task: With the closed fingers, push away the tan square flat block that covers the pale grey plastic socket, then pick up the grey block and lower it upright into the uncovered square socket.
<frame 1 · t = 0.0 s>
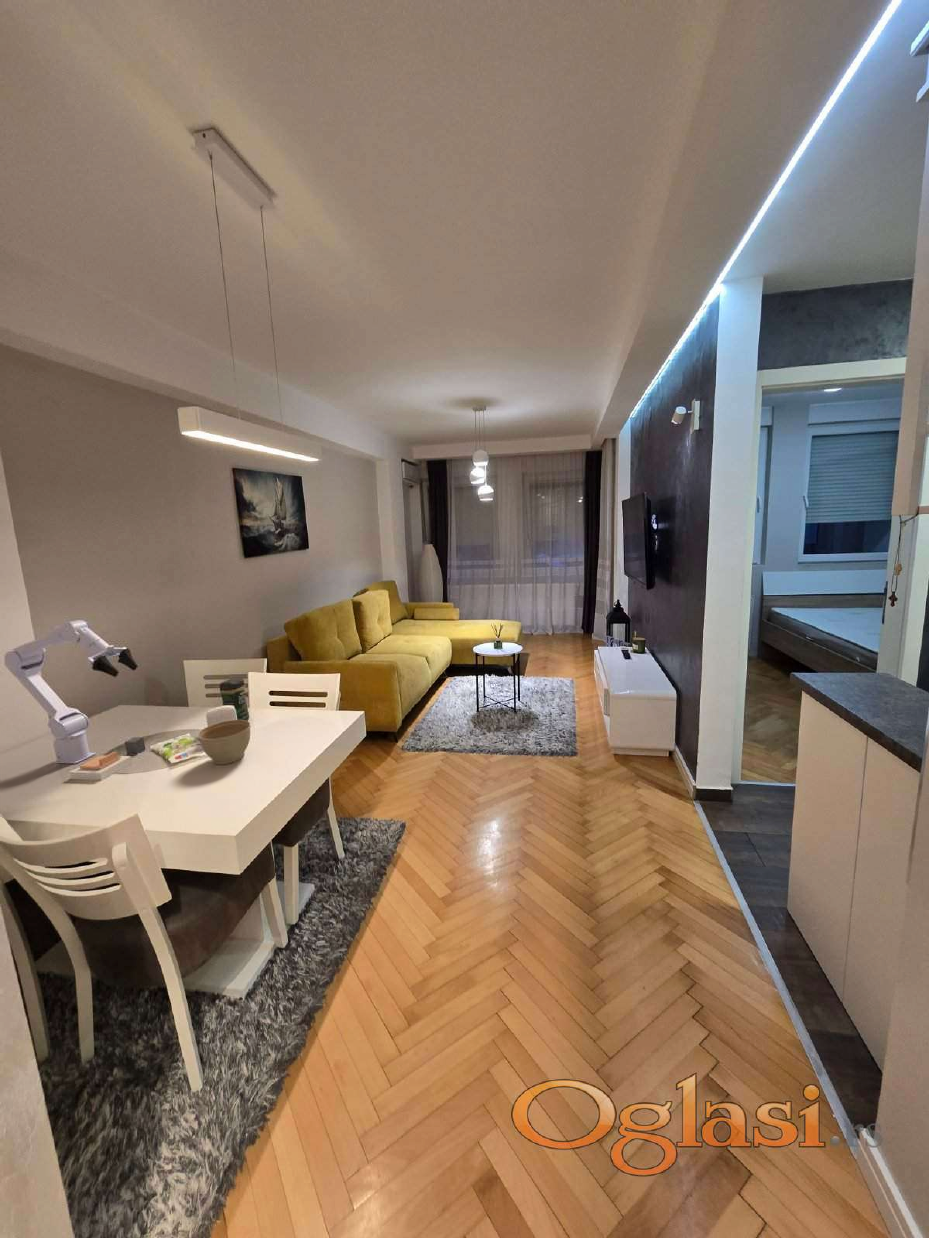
hand: (126, 671, 168), 32 cm above the table, tool tilted 50°, fingers open, 7 cm apart
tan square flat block: (100, 759, 167), point 4 cm above the table, slide at 0.0 cm
planter bowl: (229, 759, 171), on the table
coffee jar: (237, 722, 206), on the table
socket: (102, 770, 168), on the table
grey block: (136, 752, 182), on the table
photo printer: (225, 738, 190), on the table
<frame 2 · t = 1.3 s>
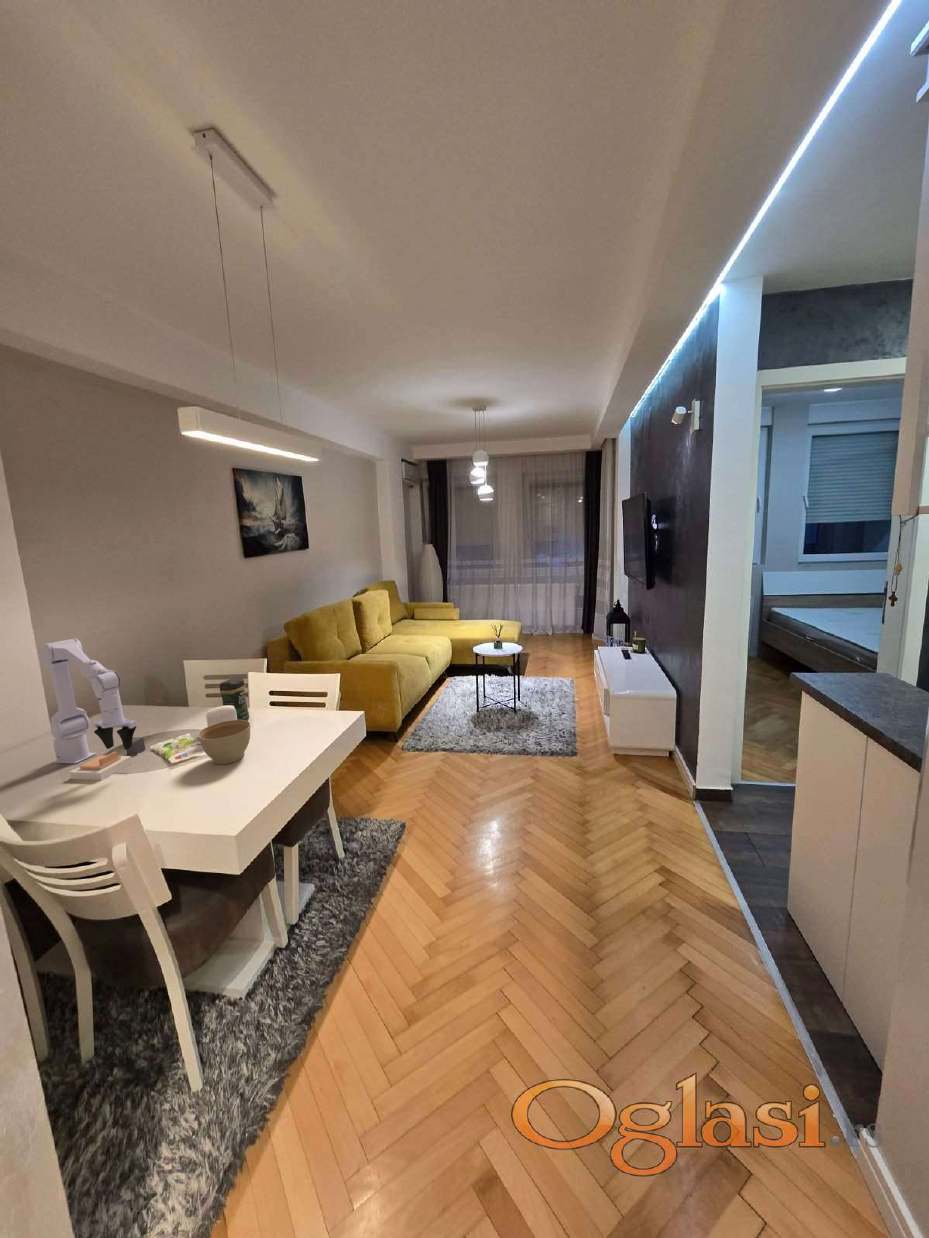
hand: (119, 747, 165), 8 cm above the table, tool pointing down, fingers open, 6 cm apart
nothing on the table moved.
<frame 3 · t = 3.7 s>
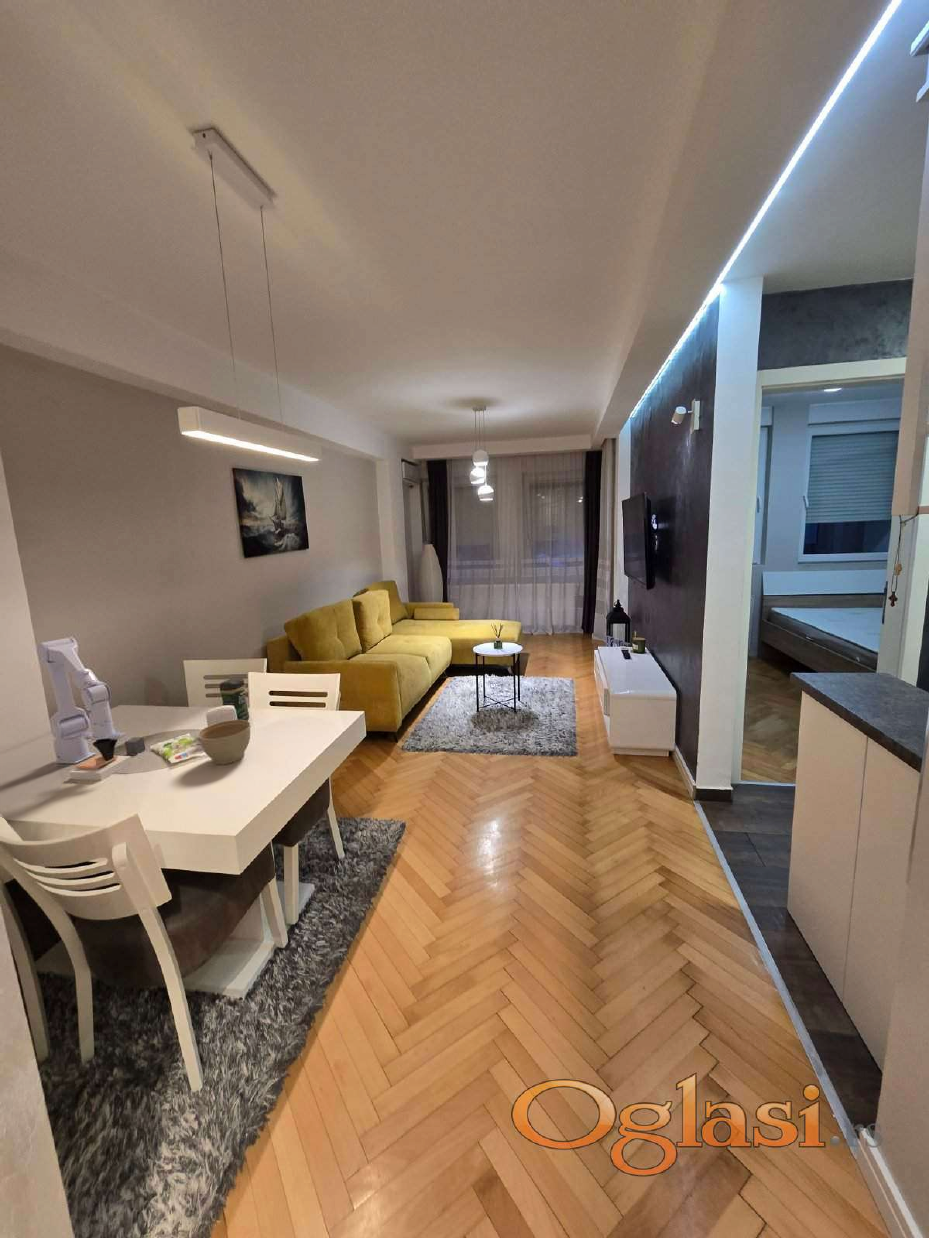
hand: (109, 759, 167), 4 cm above the table, tool pointing down, fingers closed
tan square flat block: (96, 759, 168), point 4 cm above the table, slide at 1.4 cm, touching gripper
everything else where it was.
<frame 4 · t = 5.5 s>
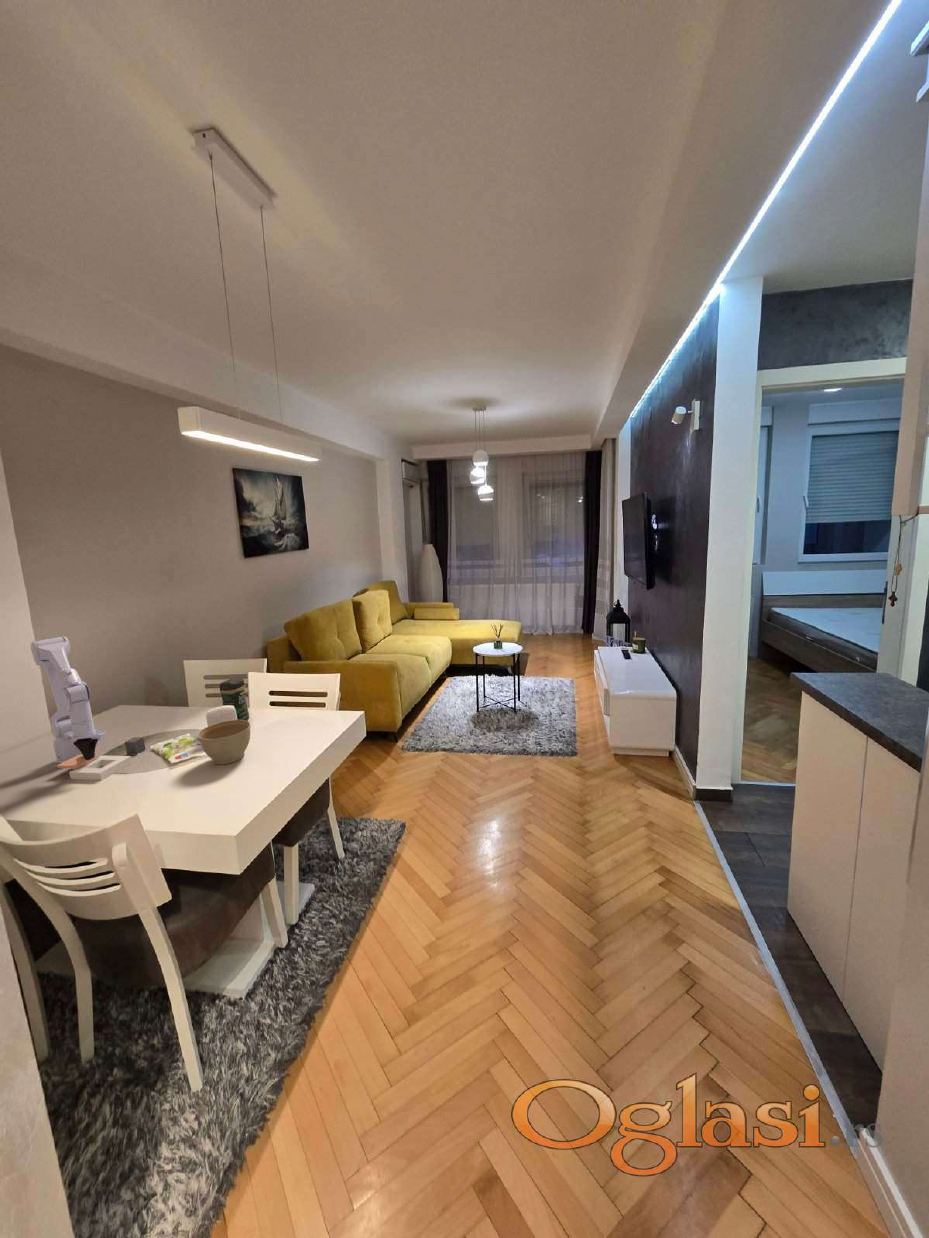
hand: (90, 758, 168), 4 cm above the table, tool pointing down, fingers closed
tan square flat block: (77, 758, 169), point 4 cm above the table, slide at 9.0 cm, touching gripper
everything else where it was.
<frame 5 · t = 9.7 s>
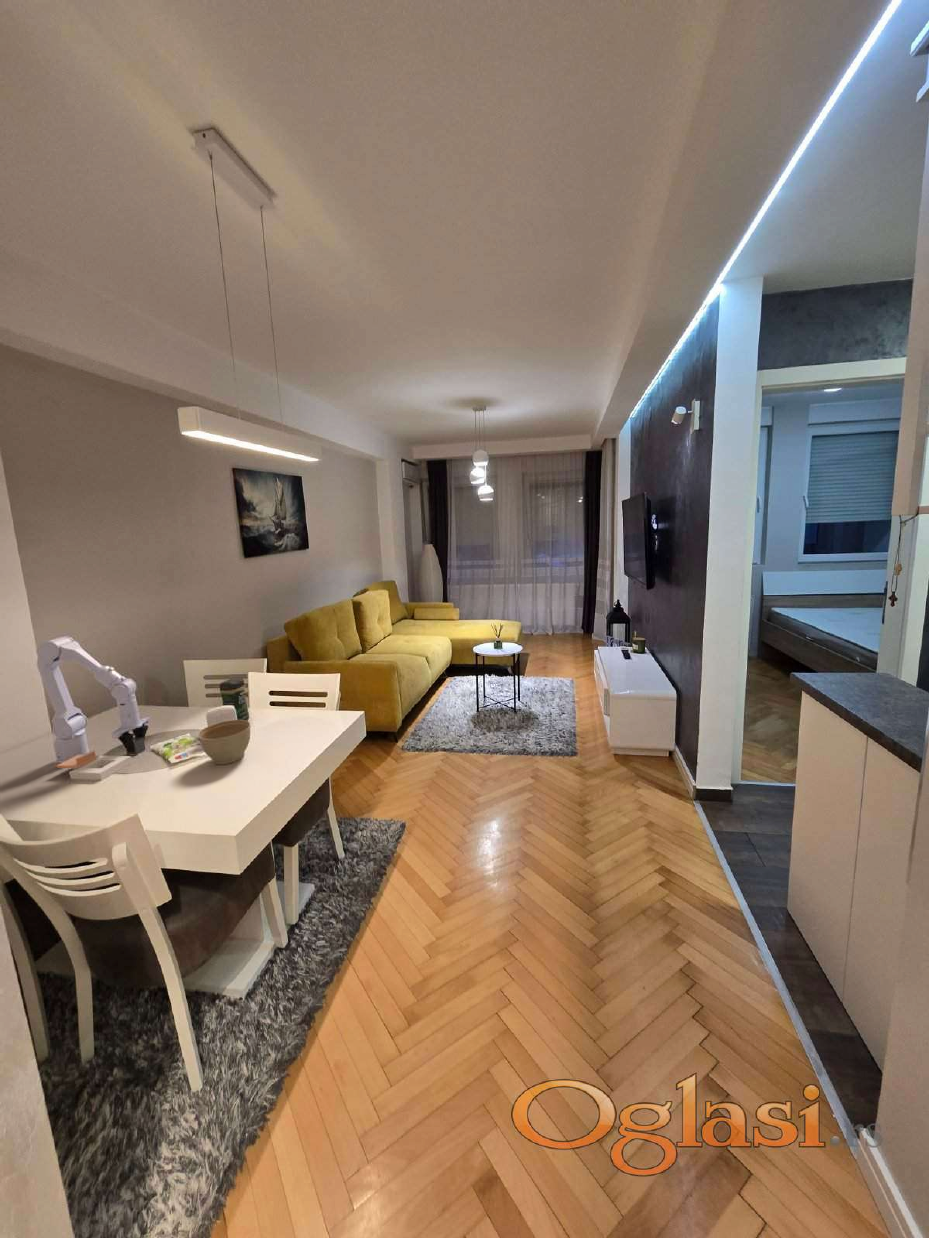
hand: (135, 748, 181), 1 cm above the table, tool pointing down, fingers closed on grey block, 4 cm apart
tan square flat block: (77, 758, 169), point 4 cm above the table, slide at 9.1 cm
grey block: (136, 752, 182), on the table, touching gripper
everything else where it was.
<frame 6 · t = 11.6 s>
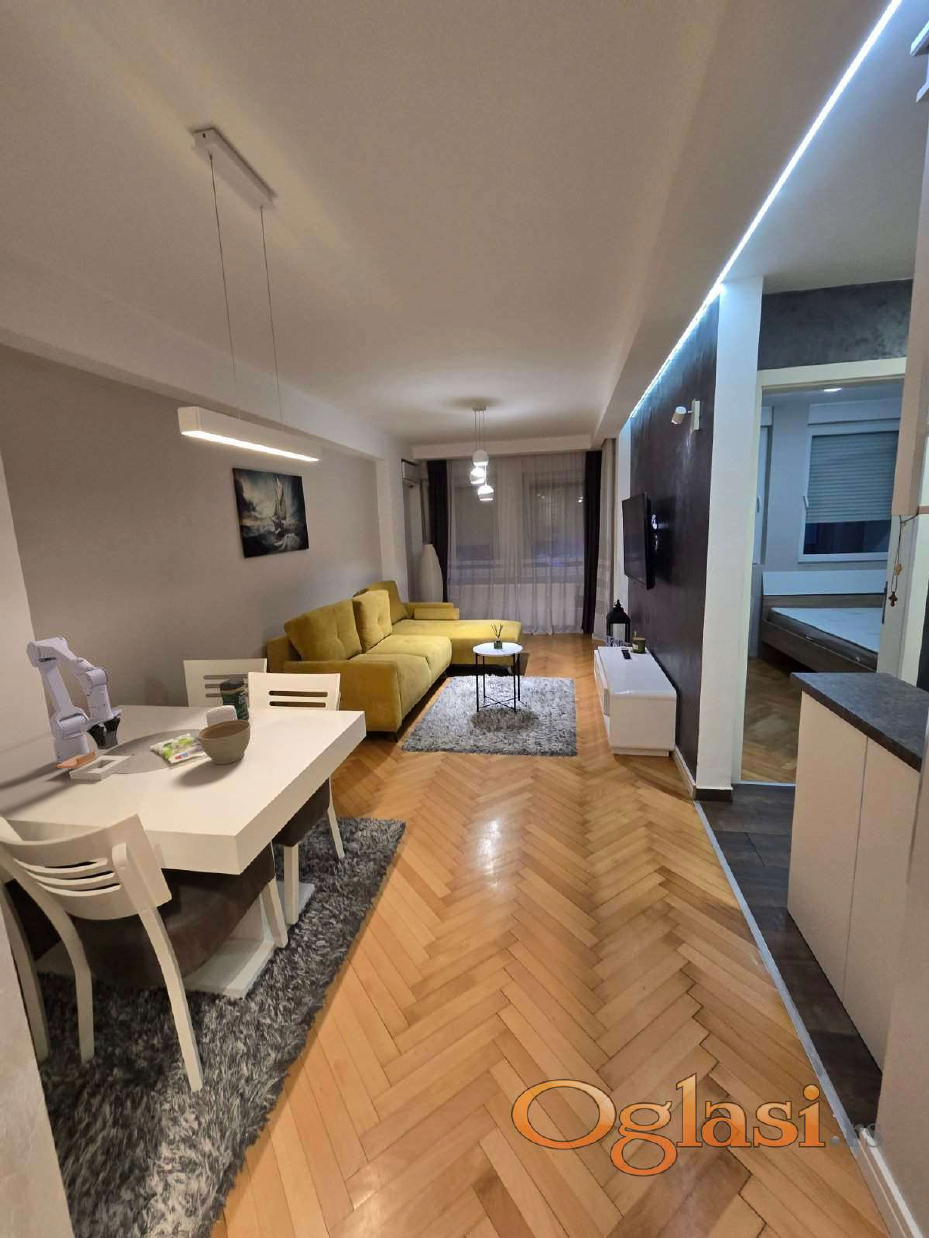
hand: (106, 742, 170), 8 cm above the table, tool pointing down, fingers closed on grey block, 4 cm apart
grey block: (108, 746, 170), point 7 cm above the table, touching gripper
everything else where it was.
when the fingers open (3 cm above the table, at t = 13.6 s): grey block drops 2 cm, resting in socket.
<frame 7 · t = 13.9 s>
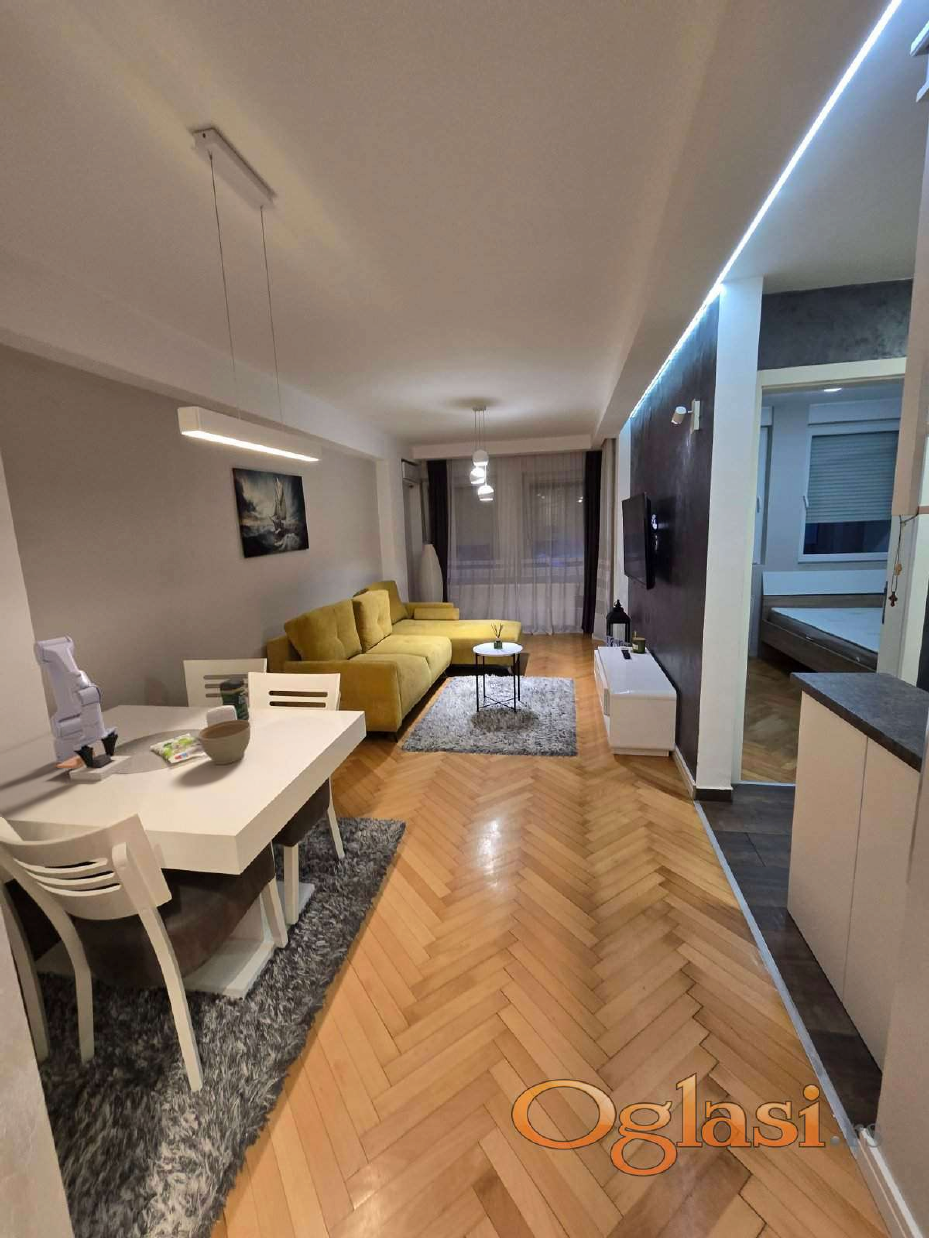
hand: (100, 761, 167), 3 cm above the table, tool pointing down, fingers open, 7 cm apart
grey block: (102, 771, 168), resting in socket
everything else where it was.
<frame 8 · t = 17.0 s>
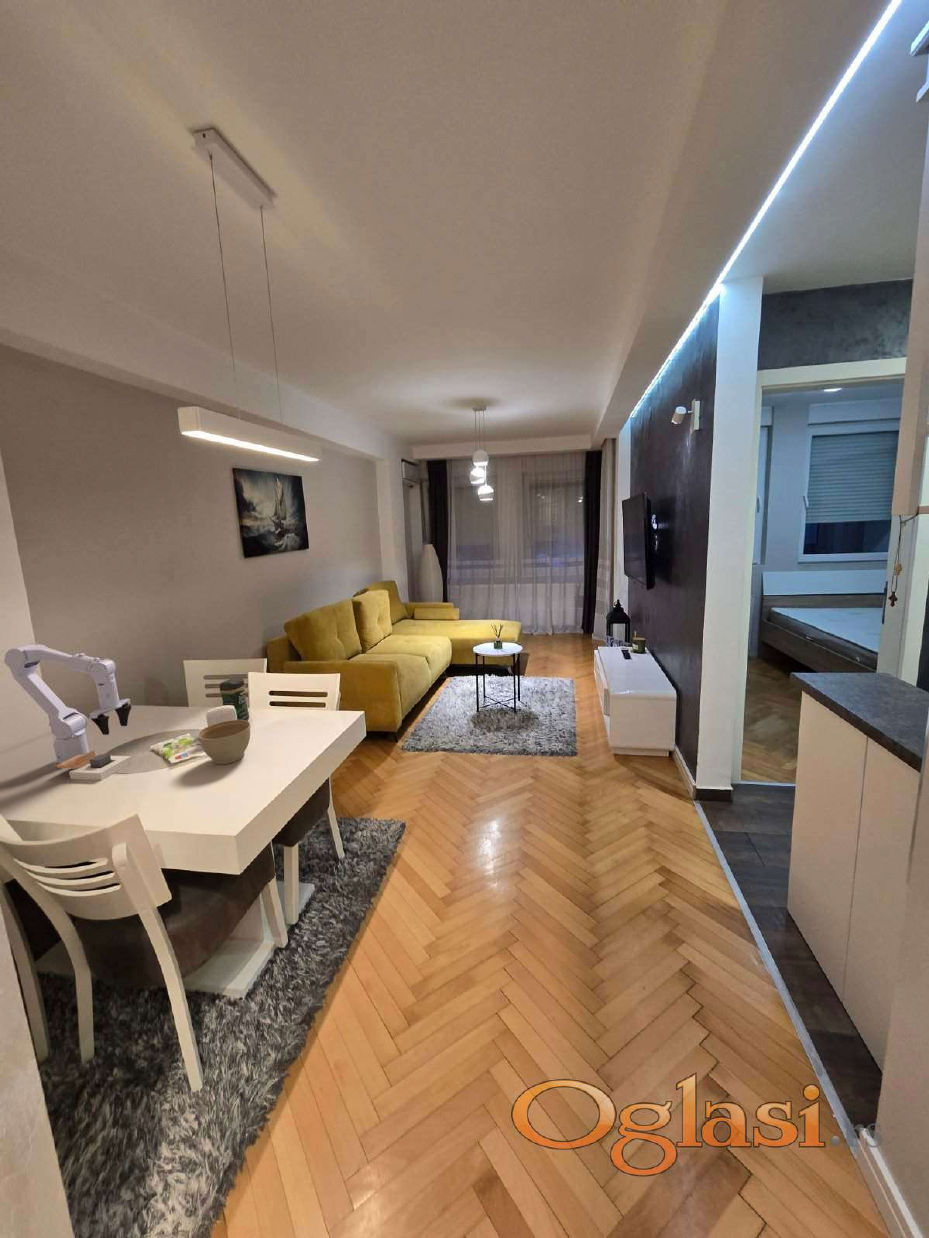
hand: (115, 729, 179), 9 cm above the table, tool pointing down, fingers open, 7 cm apart
nothing on the table moved.
at the end: grey block 0.1 cm off-centre on the socket, point 0.0 cm above the socket's base; grey block tilted 0°; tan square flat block slide at 9.1 cm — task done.
